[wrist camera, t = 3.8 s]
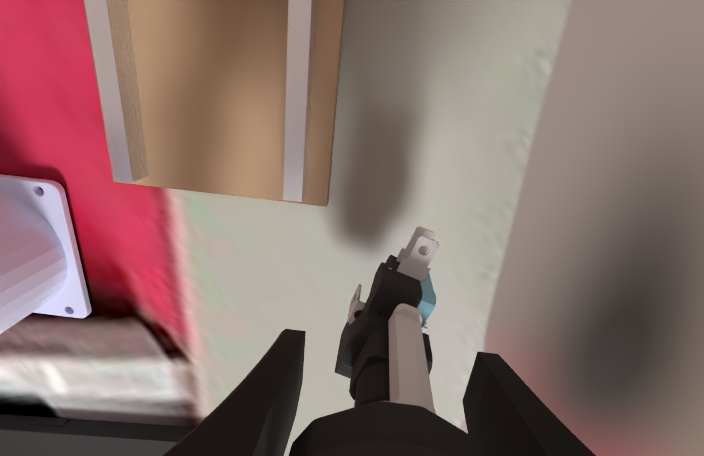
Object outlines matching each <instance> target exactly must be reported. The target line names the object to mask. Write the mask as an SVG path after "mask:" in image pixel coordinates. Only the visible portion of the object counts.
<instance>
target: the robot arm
mask: <svg viewBox="0 0 704 456" xmlns="http://www.w3.org/2000/svg"><path fill="white" fill-rule="evenodd" d="M40 187H41V188H42V189H43V191H44V192H42V190H41V188H40ZM32 312H34V313H42V314H50V315H59V316H67V317H75V318H85V317H86V316H88V315H89V314H90V313H91V305H90V301H89V296H88V292H87V287H86V283H85V279H84V274H83V270H82V265H81V261H80V257H79V252H78V248H77V243H76V239H75V235H74V230H73V226H72V221H71V217H70V212H69V208H68V204H67V199H66V195H65V191H64V188H63V187H62V186H61V184H59V183H58V182H56V181H53V180H45V179H36V178H28V177H19V176H11V175H2V174H0V334H1V333H2V332H4V331H5V330H7V329H8V328H10V327H11V326H13V325H14V324H16V323H17V322H19V321H20V320H22V319H23V318H25V317H26V316H28V315H29V314H31V313H32ZM304 347H305V331H299V330H290V329H285V330H284V331H282V332H281V334H280V335H279V337H278V338H277V340H276V341H275V342H274V344H273V345H272V346H271V348H270V349H269V350H268V351H267V353H266V354H265V355H264V356H263V358H262V359H261V360H260V361H259V363H258V364H257V365H256V366H255V367H254V368H253V369H252V371H251V372H250V373H249V374H248V375H247V376H246V378H245V379H244V380H243V381H242V382H241V383H240V384H239V385H238V386H237V387H236V388H235V389H234V390H233V391H232V392H231V393H230V395H229V396H228V397H227V398H226V399H225V400H224V401H223V402H222V403H221V404H220V405H219V406H218V407H217V408H216V409H215V410H214V411H213V412H212V413H210V414H209V415H208V416H207V417H206V418H205V419H204V420H203V421H202V422H201V423H200V424H199V425H197V426H196V427H195V428H194V429H193V430H192V431H191V432H190V433H188V434H187V435H186V436H185V437H184V438H182V439H181V440H180V441H179V442H178V443H176V444H175V445H174V446H173V447H172V448H170V449H169V450H168V451H167V452H166V453H164V454H163V455H162V456H283V455H284V452H285V449H286V446H287V442H288V439H289V436H290V432H291V429H292V426H293V422H294V419H295V416H296V411H297V406H298V401H299V396H300V391H301V386H302V379H303V363H304ZM463 406H464V413H465V419H466V424H467V430H468V434H469V435H471V436H472V437H474V438H475V439H477V440H478V441H479V442H480V443H481V444H482V446H483V448H484V450H485V452H486V454H487V456H596V455H595V454H593V453H592V452H591V451H590V450H589V449H588V448H587V447H586V446H585V445H584V444H583V443H582V442H581V441H580V440H579V439H578V438H577V437H576V436H575V435H574V434H573V433H572V432H571V431H570V430H569V429H568V428H567V427H566V426H565V425H564V424H563V423H562V422H561V421H560V420H559V419H558V418H557V417H556V416H555V415H554V414H553V413H552V412H551V411H550V410H549V409H548V408H547V407H546V406H545V404H543V403H542V401H540V399H539V398H538V397H537V396H536V395H535V394H534V393H533V392H532V390H530V388H529V387H528V386H527V385H526V384H525V383H524V382H523V381H522V380H521V378H520V377H519V376H518V375H517V374H516V373H515V372H514V371H513V370H512V369H511V368H510V366H509V365H508V364H507V363H506V362H505V361H504V360H503V359H502V358H501V357H500V356H499V355H498V354H493V353H484V352H478V353H477V356H476V359H475V363H474V366H473V369H472V372H471V375H470V379H469V382H468V385H467V388H466V392H465V395H464V398H463Z"/></svg>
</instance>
